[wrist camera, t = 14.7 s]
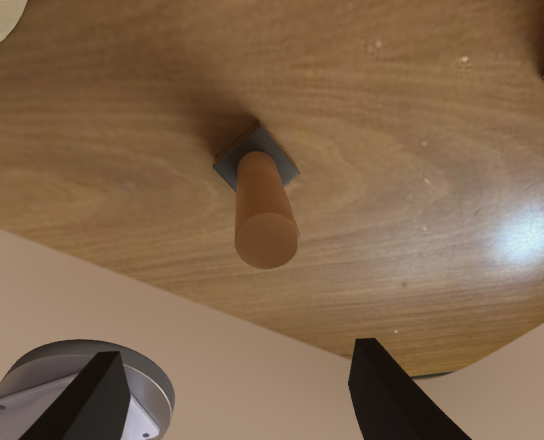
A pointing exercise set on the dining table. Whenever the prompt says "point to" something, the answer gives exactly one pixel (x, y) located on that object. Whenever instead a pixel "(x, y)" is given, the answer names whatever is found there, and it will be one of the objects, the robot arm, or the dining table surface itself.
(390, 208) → the dining table surface
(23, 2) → the cream ceramic ramekin
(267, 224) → the wooden handle stamp
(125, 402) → the robot arm
